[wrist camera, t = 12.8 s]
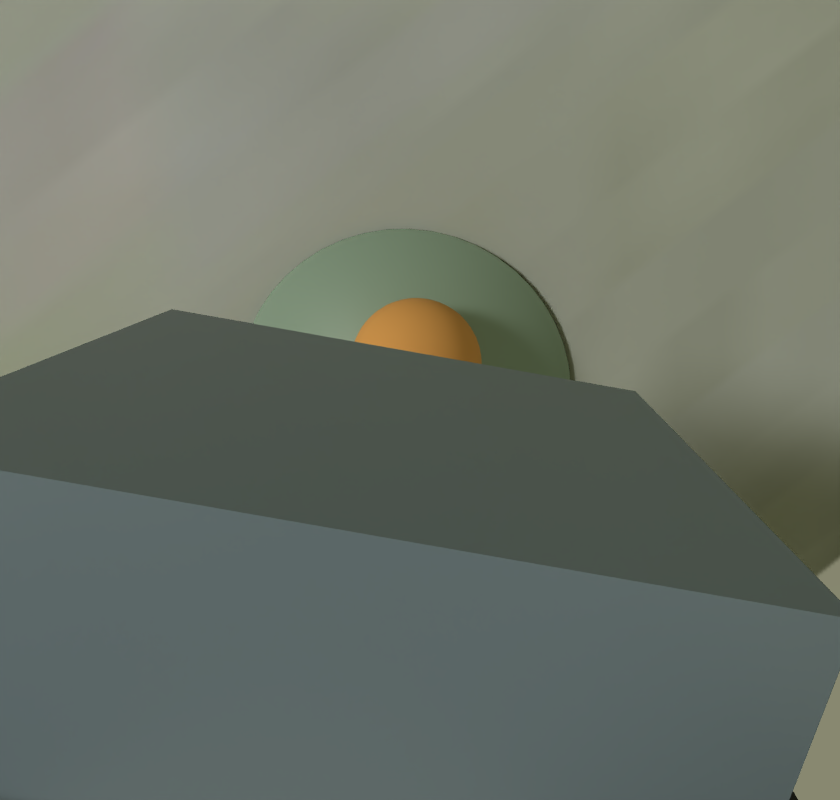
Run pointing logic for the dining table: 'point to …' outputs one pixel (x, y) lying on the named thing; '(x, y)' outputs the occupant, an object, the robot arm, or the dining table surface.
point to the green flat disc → (419, 295)
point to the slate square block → (381, 584)
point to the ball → (422, 330)
